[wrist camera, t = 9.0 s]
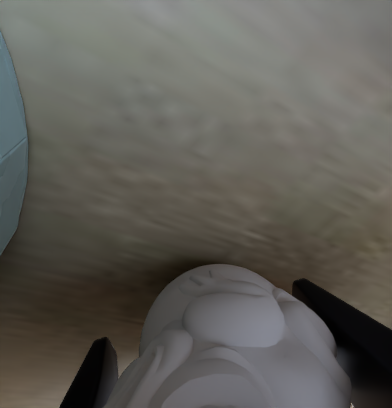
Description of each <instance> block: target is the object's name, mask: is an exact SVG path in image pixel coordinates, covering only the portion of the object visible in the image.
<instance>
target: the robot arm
mask: <svg viewBox="0 0 392 408" xmlns="http://www.w3.org/2000/svg"><path fill="white" fill-rule="evenodd" d="M292 296H293V297H294V298H296V299H297V300H299V301H301V302H302V303H304V304H305V305H306V306H307V307H308V308H309V309H311V310H312V311H314V312H315V313H316V314H317V315H318V316H319V317H320V318H321V319H322V320H323V321H324V323H325V324H326V326H327V327H328V329H329V330H330V332H331V333H332V335H333V337H334V340H335V343H336V345H337V353H338V354H337V358H336V360H337V362H338V364H339V365H340V366H341V368H342V369H343V370H344V371H345V373H346V374H347V375H348V376H349V378H350V381H351V386H352V390H351V400H350V401H351V403H352V405H353V406H354V408H392V330H391V329H389V328H388V327H386V326H384V325H383V324H381V323H379V322H378V321H376V320H374V319H373V318H371V317H369V316H367V315H366V314H364V313H362V312H361V311H359V310H357V309H356V308H354V307H352V306H351V305H349V304H347V303H346V302H344V301H342V300H341V299H339V298H337V297H336V296H334V295H332V294H331V293H329V292H327V291H326V290H324V289H322V288H321V287H319V286H317V285H315V284H314V283H312V282H310V281H309V280H307V279H305V278H302V279H299V280H295V281H294V282H293V284H292ZM117 381H118V366H117V355H116V351H115V349H114V347H113V345H112V344H111V342H110V340H109V338H107V337H104V338H101V339H97V340H95V341H94V342H93V344H92V346H91V347H90V349H89V351H88V353H87V355H86V357H85V359H84V361H83V363H82V365H81V367H80V368H79V370H78V372H77V374H76V376H75V378H74V380H73V382H72V384H71V386H70V388H69V390H68V391H67V393H66V395H65V397H64V399H63V401H62V403H61V405H60V407H59V408H103V407H104V406H105V405H106V403H107V401H108V399H109V397H110V395H111V393H112V391H113V389H114V387H115V385H116V383H117Z"/></svg>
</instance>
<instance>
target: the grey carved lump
mask: <svg viewBox="0 0 392 408" xmlns="http://www.w3.org/2000/svg"><path fill="white" fill-rule="evenodd" d="M337 354H338V353H337V345H336V343H335V340H334V337H333V335H332V333H331V332H330V330H329V329H328V327H327V326H326V324H325V323H324V321H323V320H322V319H321V318H320V317H319V316H318V315H317V314H316V313H315V312H314V311H312V310H311V309H309V308H308V307H307V306H306V305H305V304H304V303H302V302H301V301H299V300H297V299H296V298H294V297H293V296H291V295H290V294H289V293H287V292H286V291H284V290H283V289H280V288H276V287H275V286H274V285H273V284H271V283H270V282H269V281H268V280H266V279H265V278H263V277H262V276H260V275H258V274H257V273H255V272H253V271H250V270H248V269H246V268H242V267H239V266H235V265H229V264H211V265H205V266H200V267H197V268H194V269H192V270H189V271H187V272H185V273H183V274H182V275H180V276H178V277H177V278H176V279H174V280H173V281H172V282H170V283H169V284H168V285H167V286H166V287H165V288H164V289H163V291H162V292H161V293H160V294H159V295H158V297H157V298H156V299H155V301H154V303H153V304H152V306H151V308H150V310H149V312H148V314H147V317H146V320H145V323H144V326H143V329H142V333H141V339H140V347H139V358H137V359H136V360H134V361H133V362H132V363H130V365H129V366H128V367H127V368H126V369H125V371H124V372H123V373H122V375H121V376H120V378H119V379H118V381H117V383H116V385H115V387H114V389H113V391H112V393H111V395H110V397H109V399H108V401H107V403H106V405H105V406H104V407H103V408H350V406H351V402H350V400H351V390H352V386H351V381H350V378H349V376H348V375H347V374H346V373H345V371H344V370H343V369H342V368H341V366H340V365H339V364H338V362H337V360H336V358H337Z"/></svg>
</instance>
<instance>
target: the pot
mask: <svg viewBox="0 0 392 408" xmlns="http://www.w3.org/2000/svg"><path fill="white" fill-rule="evenodd" d="M27 177H28V137H27V129H26V121H25V113H24V105H23V101H22V98H21V94H20V90H19V86H18V82H17V78H16V75H15V71H14V67H13V63H12V59H11V57H10V54H9V52H8V49H7V47H6V44H5V42H4V39H3V36H2V34H1V31H0V256H1V254H2V252H3V251H4V249H5V247H6V246H7V244H8V243H9V241H10V239H11V238H12V236H13V234H14V233H15V231H16V229H17V226H18V222H19V214H20V211H21V209H22V204H23V199H24V194H25V189H26V184H27Z"/></svg>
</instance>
